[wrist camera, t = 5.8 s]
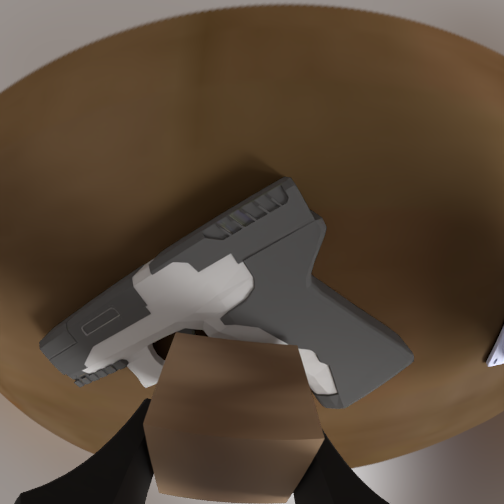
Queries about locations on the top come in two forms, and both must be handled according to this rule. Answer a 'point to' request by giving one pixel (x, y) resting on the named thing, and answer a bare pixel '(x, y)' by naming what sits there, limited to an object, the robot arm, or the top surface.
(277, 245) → the handgun
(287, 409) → the walnut cube
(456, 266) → the top surface
